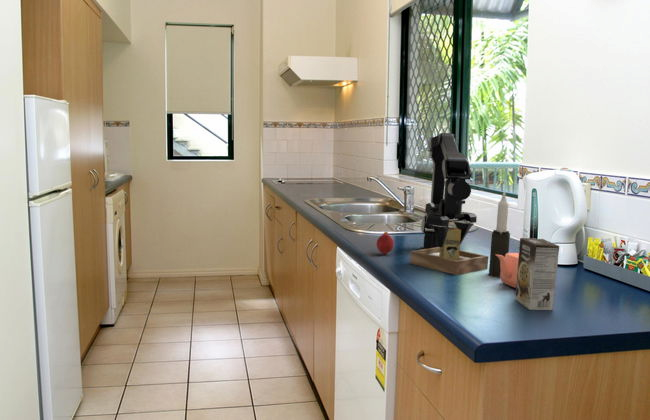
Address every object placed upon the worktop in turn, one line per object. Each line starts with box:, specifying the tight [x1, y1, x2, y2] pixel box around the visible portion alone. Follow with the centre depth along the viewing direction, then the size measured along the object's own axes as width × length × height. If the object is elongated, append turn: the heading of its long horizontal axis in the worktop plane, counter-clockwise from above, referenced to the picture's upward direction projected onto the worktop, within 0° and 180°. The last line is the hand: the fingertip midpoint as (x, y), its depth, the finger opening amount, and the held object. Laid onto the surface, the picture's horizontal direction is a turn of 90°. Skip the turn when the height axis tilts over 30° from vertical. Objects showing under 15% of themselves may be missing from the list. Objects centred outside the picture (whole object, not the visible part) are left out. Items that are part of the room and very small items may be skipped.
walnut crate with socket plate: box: [409, 247, 489, 276], centre depth 194 cm, size 16×18×4 cm
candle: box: [488, 192, 511, 278], centre depth 183 cm, size 5×5×25 cm
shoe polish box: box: [439, 226, 461, 261], centre depth 194 cm, size 5×5×12 cm
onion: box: [376, 231, 395, 255], centre depth 208 cm, size 6×6×8 cm
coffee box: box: [514, 237, 560, 311], centre depth 152 cm, size 9×6×16 cm
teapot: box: [496, 252, 519, 289], centre depth 170 cm, size 12×18×10 cm, turn 107°
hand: (449, 245), depth 194 cm, fingers open, 9 cm apart
